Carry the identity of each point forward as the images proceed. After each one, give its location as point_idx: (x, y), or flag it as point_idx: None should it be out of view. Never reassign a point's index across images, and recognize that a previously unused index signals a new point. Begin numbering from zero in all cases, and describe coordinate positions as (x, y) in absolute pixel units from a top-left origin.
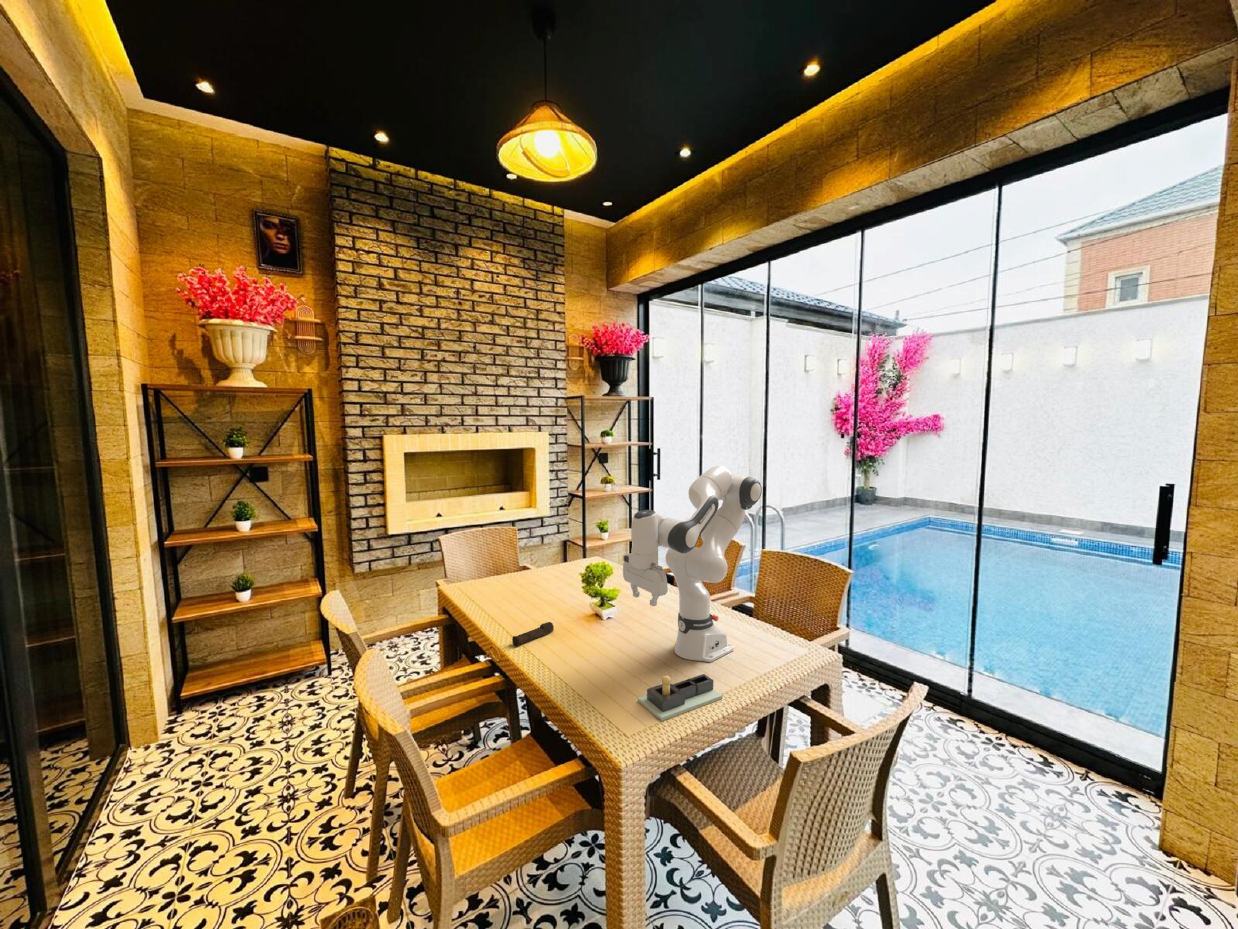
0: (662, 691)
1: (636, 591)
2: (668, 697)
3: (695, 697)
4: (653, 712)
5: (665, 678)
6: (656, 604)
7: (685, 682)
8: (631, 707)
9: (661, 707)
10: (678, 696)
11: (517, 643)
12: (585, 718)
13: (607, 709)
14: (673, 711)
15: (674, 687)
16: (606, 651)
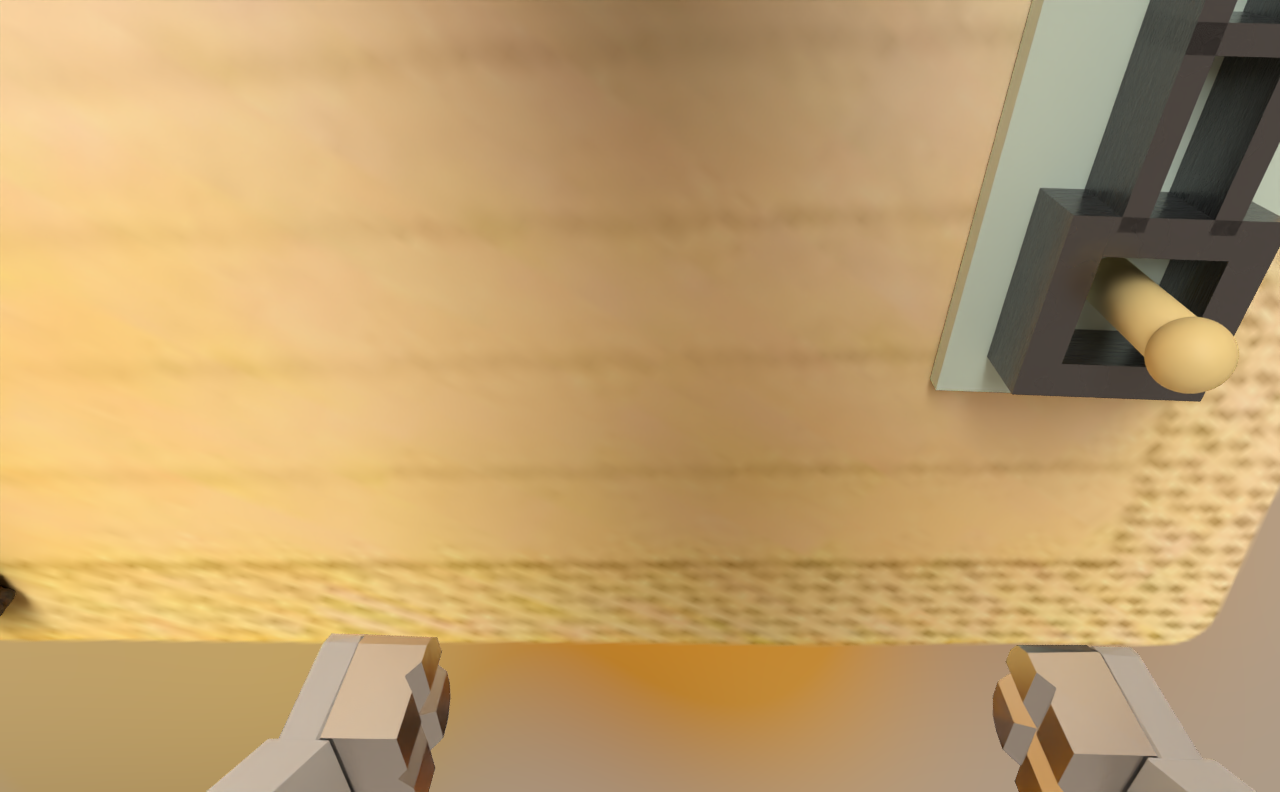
0: (1122, 335)
1: (344, 777)
2: None
3: None
4: None
5: (1213, 388)
6: (1137, 662)
7: (1198, 90)
8: (948, 437)
9: None
10: (1259, 280)
11: (4, 609)
12: (860, 620)
13: (871, 529)
14: None
15: (1165, 228)
16: (200, 185)
